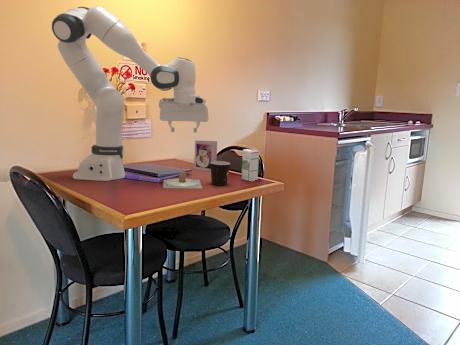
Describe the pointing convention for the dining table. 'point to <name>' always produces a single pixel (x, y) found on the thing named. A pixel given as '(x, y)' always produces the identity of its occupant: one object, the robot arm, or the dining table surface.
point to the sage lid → (182, 181)
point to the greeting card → (205, 154)
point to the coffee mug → (219, 172)
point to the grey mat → (181, 187)
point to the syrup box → (250, 165)
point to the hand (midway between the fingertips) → (184, 132)
